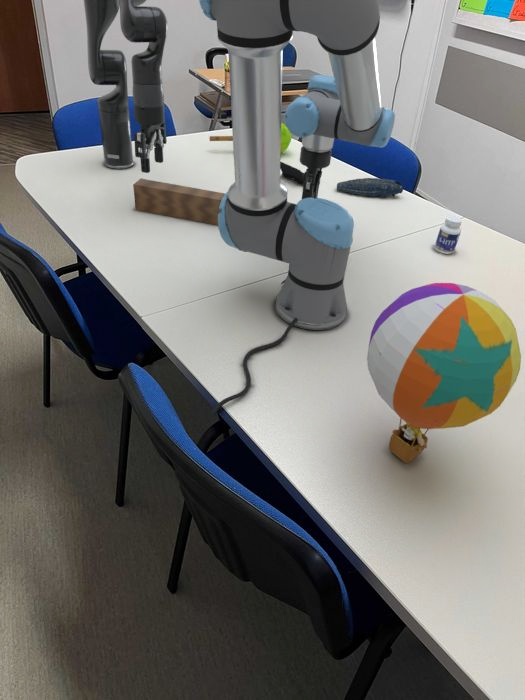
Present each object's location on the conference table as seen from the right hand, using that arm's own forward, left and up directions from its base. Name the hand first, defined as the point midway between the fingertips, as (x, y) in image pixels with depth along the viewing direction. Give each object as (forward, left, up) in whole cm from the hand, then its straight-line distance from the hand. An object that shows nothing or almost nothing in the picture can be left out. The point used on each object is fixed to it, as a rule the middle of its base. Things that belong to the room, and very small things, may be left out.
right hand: (304, 235), depth 140 cm
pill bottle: (+4, -38, -1) cm, 38 cm away
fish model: (+37, -17, -1) cm, 41 cm away
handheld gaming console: (+41, +7, -1) cm, 42 cm away
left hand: (+4, +43, +12) cm, 45 cm away
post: (+2, +22, -1) cm, 22 cm away
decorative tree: (+62, +26, -1) cm, 67 cm away
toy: (-72, -22, -1) cm, 75 cm away
